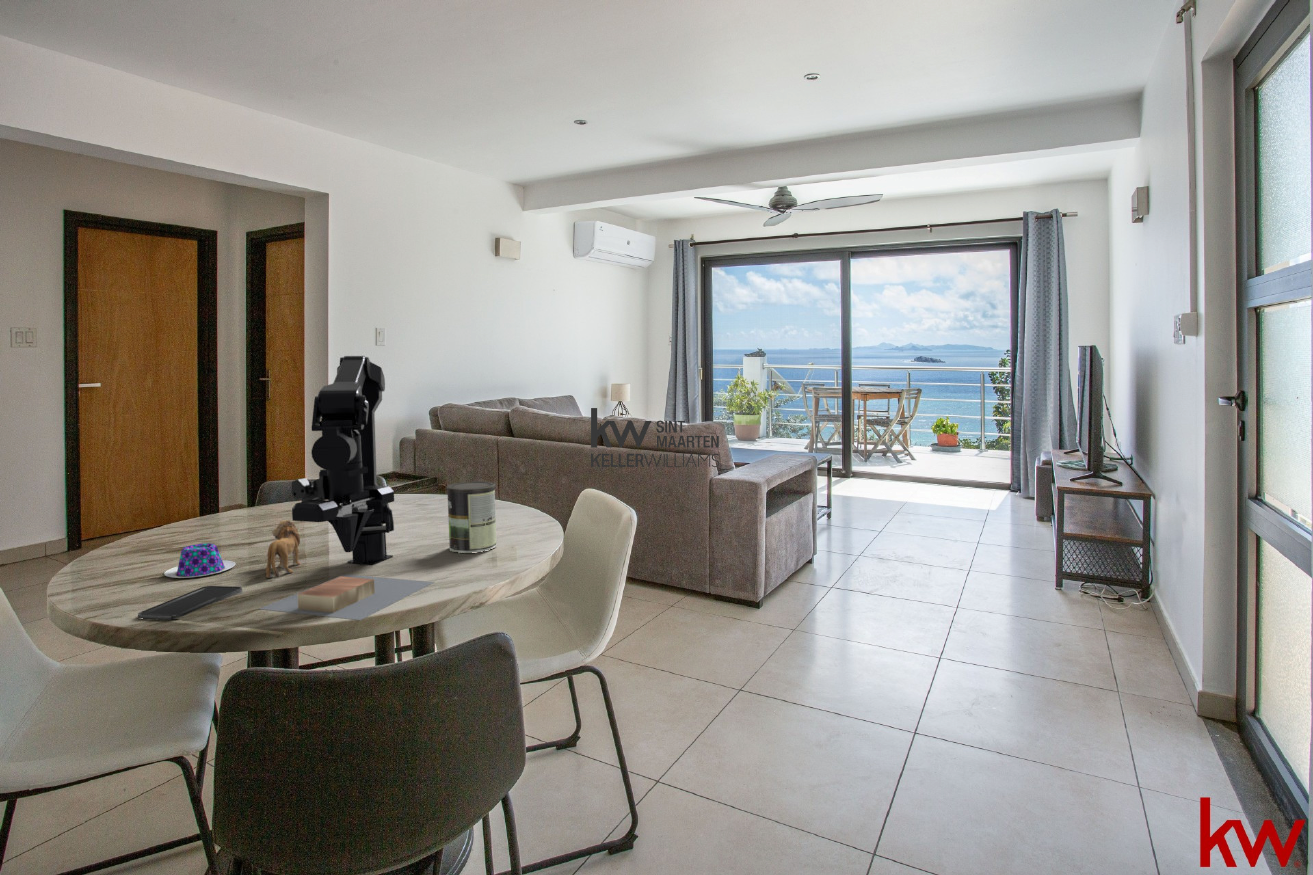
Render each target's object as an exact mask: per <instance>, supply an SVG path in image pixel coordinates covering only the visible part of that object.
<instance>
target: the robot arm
mask: <svg viewBox="0 0 1313 875" xmlns="http://www.w3.org/2000/svg"><path fill="white" fill-rule="evenodd" d="M335 375H336V376H335V378H334V380H333V383H330V384H327V385H324V386H323V387H321V389H320V390H319V391H318V394H317V395H316V396H315V397H314V400H313V402H314V403H313V411H312V420H311V421H312V422H311V432H321V436H320V437H318V438H317V439H316V440H315V441H314V443H313V445H312V447H311V450H310V451H311V454H310V455H311V458H312V460H313V461H314V463H315V464H316V466H318V467H319V468H320V470H319V471H318V472H319V473H318V478H317V479H315V480H310V481H309V480H308V479H307V478H306V477H305V478H298V479H295V480H293V481H291V489H290V490H291V495H292V497H293V499H294V500H296V501H297V500H300V501H301V502H300V501H299V502H297V503H294V505H293V507H292V508H291V515H292V516H291V517H292V522H308V523H309V522H310V523H323V522H324V523H325V522H328V523H329V524H330V525H331V526H332V528H333V529H334V531H335V533H336V536H337V538H338V539H339V542H340V544H341V546H342V549H343V551H344V552H345V553H352V554H351V555H352V559H350V560H347V564H354V565H365V566H367V565H369V566H374V565H377V564H380V563H383V562H384V561H387V560H389V559H391V558H394V555H392V554H388V553H387V536H386V534H388V533H391V532H394V531H395V524H394V523H395V522H394V515H393V510H392V509H391V508H390V506H389V504H390V503H393V502H394V503H395V491H394V490H393V489H392V488H391V487H390V486H388V485H379V484H378V482H377V478H378V476H377V453H376V452H377V451H376V450H377V449H376V423H375V422H376V420H375V419H376V418H375V413H376V411H377V409H378V408H379V406H380V404H381V403H382V400H383V392H385V390H386V380H385V375H384V372H383V368H382V367H381V366H379V365H377V364H376V363H373V362H372V361H371V360H370V358H369V357H368V356H365V355H344V356H343V357H341V356H340V357H339V365H338V366H337V368H336V374H335Z"/></svg>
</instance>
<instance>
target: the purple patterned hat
mask: <svg viewBox="0 0 1313 875" xmlns="http://www.w3.org/2000/svg"><path fill="white" fill-rule="evenodd" d="M218 548H219V547H218V546H217V545H216V544H213V543H210V542H209V543H198V544H197V543H196V544H191V545H188V546H184V547H182V549H181V551H180V556H179V562H178V565H177V566H175V567H172V568H170V569H167V570H166V571H164V573H163V575H164V576H166V577H168V578H173V579H174V578H178V579H185V578H186V579H187V578H188V579H189V578H199V577H204V576H205V577H206V576H210V575H214V574H219V573H222V572H226V571H227V570H230V569H232V568H234V567H235V566H236V562H235V561H232V560H226V559H225V560H224V559H223V558H222V557H221V553H220V551H219V549H218Z"/></svg>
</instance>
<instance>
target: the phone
mask: <svg viewBox="0 0 1313 875" xmlns="http://www.w3.org/2000/svg"><path fill="white" fill-rule="evenodd" d="M242 588H243V587H242V586H228V585H227V586H226V585H207V586H206V585H205V586H202V587H200V588H197V589H194V590H192V591H190V592H187V593H184V594H182V595H179V596H177V597H175V598H171V599H169V600H167V601H165V602H162V603H160V604H157V605H155V606H152V607H150V608H148V609H145V610H142V611H140V612H137V617H138V618H143V619H142V620H146V619H158V620H157V621H170V622H172V621H179V620H181V619H180V618H181V617H183V616H186V615H188V614H191V613H193V612H195V611H198V610H200V609H202V608H205V607H207V606H209V605H212V604H215V603H218V602H220V601H223V600H226V599H229V598H231V597H234V596H237V595H239V594H241V593H243V589H242Z"/></svg>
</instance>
